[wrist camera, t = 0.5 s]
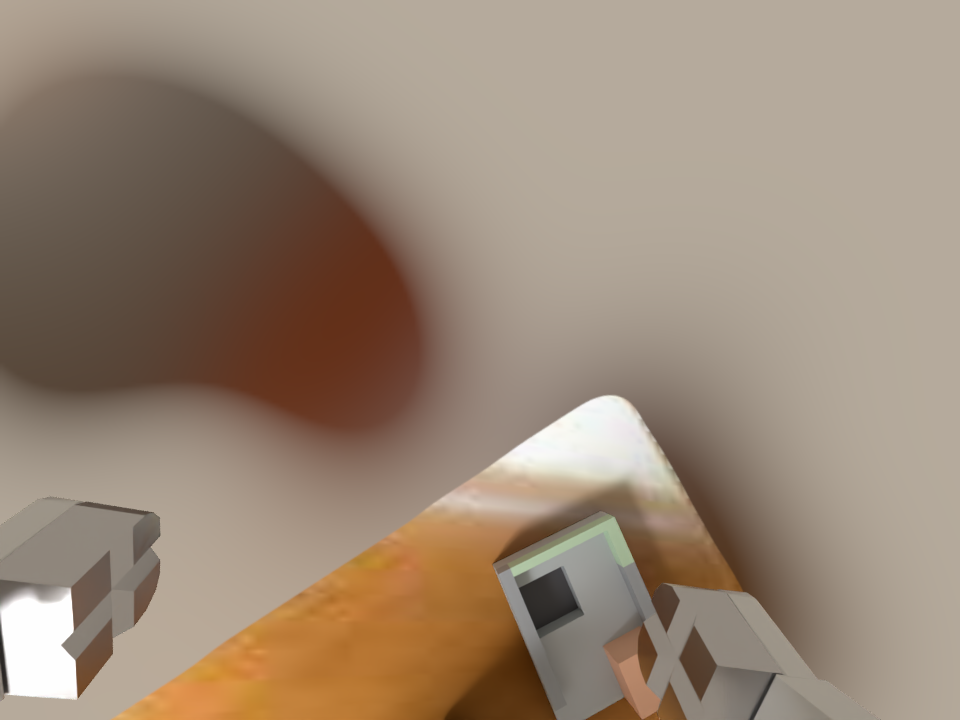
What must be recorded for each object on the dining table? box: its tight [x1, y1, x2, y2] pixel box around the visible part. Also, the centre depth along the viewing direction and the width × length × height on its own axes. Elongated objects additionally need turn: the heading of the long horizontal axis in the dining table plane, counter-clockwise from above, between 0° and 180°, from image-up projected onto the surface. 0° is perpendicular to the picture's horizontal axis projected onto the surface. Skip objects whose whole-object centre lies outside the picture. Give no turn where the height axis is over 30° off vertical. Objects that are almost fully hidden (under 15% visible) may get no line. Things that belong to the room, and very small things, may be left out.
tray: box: [493, 511, 656, 720], centre depth 56 cm, size 19×15×4 cm
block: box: [603, 626, 660, 720], centre depth 53 cm, size 6×5×4 cm
